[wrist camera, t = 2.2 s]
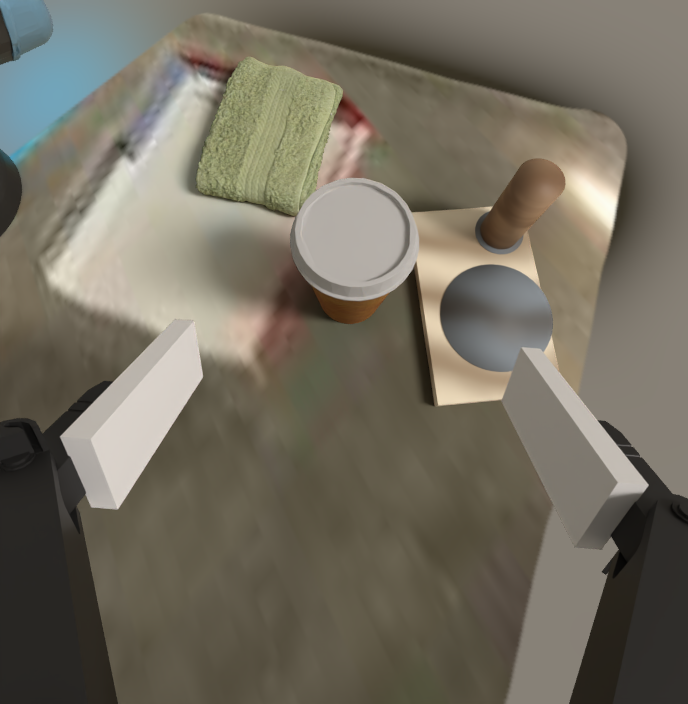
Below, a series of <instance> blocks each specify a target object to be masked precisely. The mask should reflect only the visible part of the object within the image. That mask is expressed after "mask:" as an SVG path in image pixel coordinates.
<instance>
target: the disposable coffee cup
mask: <svg viewBox="0 0 688 704" xmlns="http://www.w3.org/2000/svg"><path fill="white" fill-rule="evenodd" d="M290 247H291V252H292V257H293V260H294V262H295V264H296V266H297V268H298V270H299V272H300V273H301V275H302V276H303V277H304V278H305V279H306V281H307V282H308V283H309V284H311V286H312V288H313V290H314V292H315V294H316V296H317V298H318V300H319V302H320V304H321V307H322V309H323V310H324V312H325V313H326V314H327V315H328V316H329V317H331V318H332V319H334V320H336V321H338V322H341V323H346V324H354V323H359V322H362V321H364V320H366V319H367V318H369V317H370V316H371V315H372V314H373V313H374V312H375V311H376V309H377V308H378V307H379V305H380V304H381V303H382V302H383V300H384V299H385V298H386V296H387V295H388V294H389V292H391V291H393V290H394V289H396V288H397V287H398V286H399V285H400V284H401V283H402V282H403V281H404V280H405V279H406V278H407V277H408V275H409V274H410V272H411V271H412V269H413V267H414V265H415V262H416V260H417V257H418V252H419V235H418V230H417V226H416V224H415V221H414V218H413V215H412V213H411V211H410V209H409V207H408V205H407V204H406V202H405V201H404V200H403V199H402V198H401V197H400V196H399V195H398V194H397V193H396V192H395V191H393V190H392V189H390V188H388V187H387V186H385V185H383V184H382V183H379V182H375V181H372V180H368V179H365V178H346V179H339V180H336V181H334V182H331V183H328V184H326V185H324V186H322V187H320V188H319V189H318V190H316V191H315V192H314V193H312V194H311V195H310V196H309V198H308V199H307V200H306V201H305V202H304V204H303V205H302V207H301V209H300V211H299V212H298V214H297V215H296V217H295V220H294V222H293V225H292V229H291V233H290Z"/></svg>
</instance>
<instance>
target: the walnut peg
mask: <svg viewBox="0 0 688 704" xmlns="http://www.w3.org/2000/svg"><path fill="white" fill-rule="evenodd" d="M564 188H565V177H564V174H563V172H562V171H561V169H560V168H559V167H558V166H557V165H555V164H554V163H552V162H551V161H548V160H545V159H531V160H528V161H526V162H525V163H523V164H522V165H521V166H520V168H519V169H518V171H517V172H516V174H515V175H514V177H513V178H512V180H511V181H510V182H509V184H508V185H507V187H506V188H505V190H504V191H503V193H502V194H501V196H500V197H499V199H498V200H497V202H496V203H495V205H494V206H493V207H492V209H491V210H490V212H489V213H488V215H487V216H486V218H485V219H484V221H483V222H482V224H481V227H480V233H481V236H482V239H483V240H484V241H485V243H486V244H488V245H489V246H490V247H492V248H495V249H508V248H510V247H512V246H513V245H514V244H515V243H516V242H517V241H518V240H519V239H520V238H521V237H522V236H523V235H524V234H525V232H526V231H527V230H528V229H529V228H530V227H531V226H532V225H533V224H534V223H535V222H536V221H537V219H538V218H539V217H540V216H541V215H542V214H543V213H544V212H545V211H546V210H547V209H548V208H549V206H550V205H551V204H552V203H553V202H554V201H555V200H556V199H557V198H558V197H559V196H560V195H561V193H562V192H563V190H564Z"/></svg>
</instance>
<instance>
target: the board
mask: <svg viewBox="0 0 688 704" xmlns="http://www.w3.org/2000/svg"><path fill="white" fill-rule="evenodd" d="M491 209H492V207H482V208H468V209H454V210H441V211H427V212H413V213H412V215H413V218H414V221H415V224H416V226H417V230H418V235H419V252H418V257H417V260H416V262H415V265H414V270H415V276H416V283H417V290H418V297H419V303H420V310H421V317H422V324H423V330H424V337H425V344H426V351H427V357H428V364H429V371H430V378H431V384H432V391H433V398H434V405H435V406H444V405H454V404H465V403H476V402H486V401H497V400H502V398H503V395H504V393H505V390H506V387H507V384H508V382H509V379H510V376H511V373H512V371H513V368H514V365H515V363H516V360H517V357H518V354H519V352H520V349H521V347H526V348H538V349H541V350H542V351H543V353H544V354H545V355H546V356H547V358H548V359H549V360H550V362H551V363H552V364H553V365H554V367H555V368H556V369H557V370H558V372H559V367H558V363H557V359H556V354H555V350H554V345H553V341H552V337H551V335H552V329H553V318H552V312H551V308H550V305H549V303H548V300H547V298H546V296H545V295H544V293H543V292H542V290H541V288H540V284H539V279H538V275H537V271H536V266H535V262H534V257H533V253H532V248H531V244H530V240H529V235H528V231H526V232H525V234H524V235H523V236H522V237H521V238H520V239H519V240H518V241H517V242H516V243H515V244H514V245H513V246H512V247H510V248H508V249H495V248H492V247H490V246H489V245H488V244H486V243H485V241H484V240H483V239H482V236H481V233H480V227H481V224H482V222H483V221H484V219H485V218H486V216H487V215H488V213H489V212H490V210H491ZM559 373H560V372H559Z"/></svg>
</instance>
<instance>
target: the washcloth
mask: <svg viewBox="0 0 688 704" xmlns="http://www.w3.org/2000/svg"><path fill="white" fill-rule="evenodd" d="M342 94H343V90H342V89H341V87H340V86H338V85H336V84H333V83H330V82H328V81H325V80H322V79H317V78H313V77H309V76H305V75H303V74H302V73H300V72H298V71H296V70H294V69H292V68H289V67H286V66H270V65H267V64H264V63H261V62H259V61H258V60H256V59H254V58H252V57H246V58H245V60H243V61H241V62H239V63H238V67H236V68H235V71H234V72H233V74H232V77H230V78H229V80H228V82H227V84H226V92H225V93H224V94H223V95H222V96H223V99H222V102H221V103H220V107H219V108H218V111H217V114H216V115H215V120H214V121H213V124H212V125H211V129H210V135H209V136H208V137H207V138H206V141H205V142H204V145H205V147H203V148H202V155H201V161H200V162H199V163H198V166H199V167H198V169H197V175H196V182H197V185H196V188H198V191H199V192H200V193H203V194H205V195H210V194H211V195H212V196H217V197H224V198H227V199H233V200H235V201H237V202H238V201H240V202H244V201H248V202H252V203H256V204H262V205H265V206H267V208H268V209H271V210H274V211H275V210H279V211H281V212H284V213H286V214H289V215H292V216H296V215H297V214H298V212H299V211H300V209H301V207H302V205H303V204H304V202H305V201H306V200H307V199H308V198H309V196H310V195H311V194H312V193H314V192H315V191H316V190H315V189H316V186H317V185H316V184H317V179H318V171H319V168H320V166H321V163H322V162H321V160H322V159H323V158H322V155H323V154H322V153H324V149H323V148H324V147H325V143H327V139H328V138H329V137H328V136H327V135H329V133H328V132H329V131H330V127H331V123H332V121H333V118H334V115H335V113H336V109H337V108H338V104H339V103H340V100H341V98H342Z"/></svg>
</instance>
